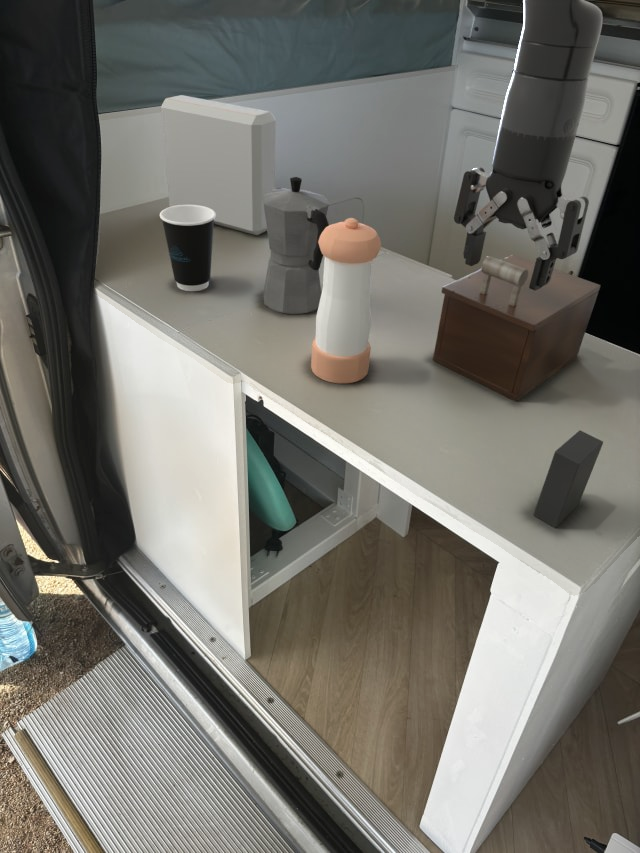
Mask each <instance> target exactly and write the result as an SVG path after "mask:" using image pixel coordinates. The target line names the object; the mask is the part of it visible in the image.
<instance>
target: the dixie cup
mask: <svg viewBox="0 0 640 853" xmlns="http://www.w3.org/2000/svg"><path fill="white" fill-rule="evenodd" d="M215 217H216V214H215V212H214V211H213V210H212V209H210V208H208V207H204V206H199V205H177V206H172V207H170V206H169V207H166V208H164V209H162V210H161V211H160V212H159V218H160V220H162V225H163V230H164V235H165V240H166V245H167V249H168V255H169V259H170V263H171V269H172V274H173V278H174V281H175V282H176V286H177V288H178V289H180V290H181V291H186V292H199V291H204V290H205V289H207V288H208V287H209V285H210V284H209V282H210V280H211V275H212V274H211V273H212V256H213V240H214V239H213V238H214V225H215V224H214V218H215Z"/></svg>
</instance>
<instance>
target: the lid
mask: <svg viewBox="0 0 640 853" xmlns="http://www.w3.org/2000/svg"><path fill="white" fill-rule="evenodd" d="M535 263H536V261H533V260H530V259H529V258H525V257H522V256H519V255H516V254H511V255H510V256H507V257H504V258H503V259H499V258H497V257H494V256H491V255H488V256H486V257H485V258H484V260H483V261H482V263H481V266H480V269H478V270H477V271H475V272H472V273H470V274H468V275H466V276H464V277H461V278H459V279H457V280H455V281H452V282H451V283H448V284H446V285H444V286H442V287H441V294H443V295H448V296H450V297H452V298H455V299H457V300H460V301H462V302H464V303H467V304H469V305H471V306H474V307H476V308H479V309H481V310H483V311H486V312H488V313H491V314H493V315H495V316H498V317H500V318H502V319H505V320H507V321H510V322H512V323H514V324H517V325H519V326H522V327H524V328H526V329H529V330H531V331H534V330H536V329H537V328H539V327H540V326H542V325H544V324H545V323H547V322H549V321H550V320H552V319H554V318H555V317H557V316H558V315H560V314H562V313H563V312H565V311H567V310H568V309H570V308H571V307H573V306H575V305H576V304H578V303H580V302H581V301H583V300H585V299H586V298H588V297H589V296H591V295H593V294H594V293H596V292H598V293H599V291H600V289H601V284H598V283H596V282H594V281H593V282H592V281H590V280H587V279H584V278H581V277H579V276H575V275H573V274H570V273H567V272H565V271H561V270H558V269H556V268H554V269H553V272H552V275H551V279H550V281H549V282H548V284H546V285H544V286H543V287H542V288H540V289H538V290H536V291H535V290H532V289H530V288H529V285H530V282H531V278H532V274H533V270H534V266H535Z"/></svg>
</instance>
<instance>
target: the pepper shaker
mask: <svg viewBox="0 0 640 853" xmlns="http://www.w3.org/2000/svg"><path fill="white" fill-rule="evenodd" d="M318 243H319V247H320V250H321V252H322V254H323V257H324V264H323V278H322V288H321V298H320V303H319V307H318V308H317V310H316V311H317V312H316V316H315V337H314V339H313V341H312V344H311V360H310V368H311V371H312V373H313V374H314V375H315V376H316V377H318V378H319V379H321V380H323V381H326V382H328V383H335V384H352V383H356V382H358V381H361V380H363V379H364V378H365V377H366V376H367V375H368V372H369V367H370V356H371V349H372V347H371V344H370V342H369V339H370V332H371V325H372V313H371V312H372V310H371V295H370V293H371V292H370V290H371V289H370V288H371V279H372V268H373V260H375V259H376V258H377V257H378V255H379V253H380V251H381V248H382V241H381V239H380V236H379V235H378V232H377V231H376V230H375V229H374V228H373V227H371V226H369V225H367V224H364V223H362V222H359V221H358V219H356V218H355V217H348V218H346V219H345V220H344V221H339V222H336V223H332V224H329V226H327V227H326V228H325V229H324V231H323V232H322V233H321V235H320V238H319V241H318Z"/></svg>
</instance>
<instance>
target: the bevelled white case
mask: <svg viewBox="0 0 640 853" xmlns="http://www.w3.org/2000/svg"><path fill="white" fill-rule="evenodd" d="M160 111H161V123H162V124H161V125H162V134H163V147H164V157H165V169H166V180H167V192H168V204H169V207H172V206H177V205H199V206H204V207H208V208H210V209H212V210H213V211H214V212H215V214H216V217H215V218H214V225H216V226H221V227H224V228H228V229H232V230H235V231H239V232H241V233H245V234H251V235H253V236H259V235H261V234H263V233H265V232H267V226H266V219H265V211H264V204H263V195H265V194H268V193H271V190H270V189H276V122H277V121H276V118H275V116H274V114H273V113H272V111H269V110H265V109H264V110H263V109H258V108H253V107H247V106H244V105H243V106H242V105H238V104H231V103H227V102H221V101H215V100H212V99H211V100H210V99H204V98H201V97H195V96H189V95H183V94H180V95H176V96H170V97H166V98H165V99H164V100H163V102H162V104H161V106H160Z"/></svg>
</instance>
